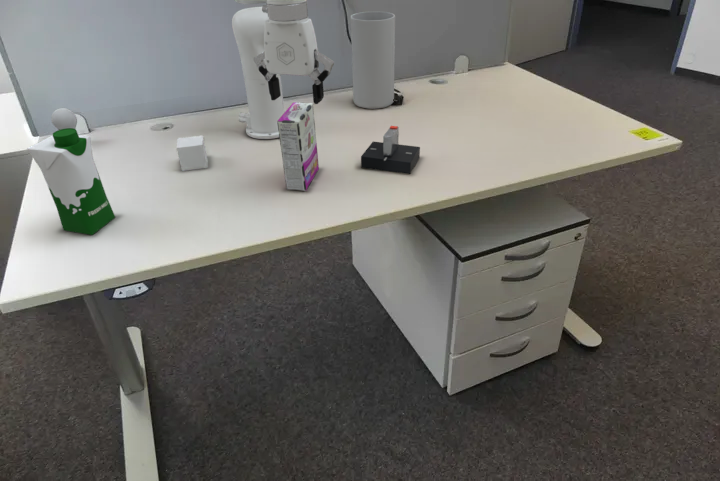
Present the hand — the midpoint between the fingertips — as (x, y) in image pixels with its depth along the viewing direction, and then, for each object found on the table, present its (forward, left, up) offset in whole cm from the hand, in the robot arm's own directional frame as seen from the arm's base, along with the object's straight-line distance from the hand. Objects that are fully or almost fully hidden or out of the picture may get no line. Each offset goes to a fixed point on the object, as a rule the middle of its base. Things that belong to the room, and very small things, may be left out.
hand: (296, 100), depth 109 cm
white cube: (-30, 0, -19) cm, 35 cm away
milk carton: (-35, -30, -19) cm, 50 cm away
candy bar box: (-1, 0, -19) cm, 19 cm away
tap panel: (+16, +14, -19) cm, 29 cm away
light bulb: (-69, +1, -19) cm, 71 cm away
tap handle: (+16, +14, -16) cm, 27 cm away
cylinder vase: (-1, +53, -19) cm, 56 cm away
